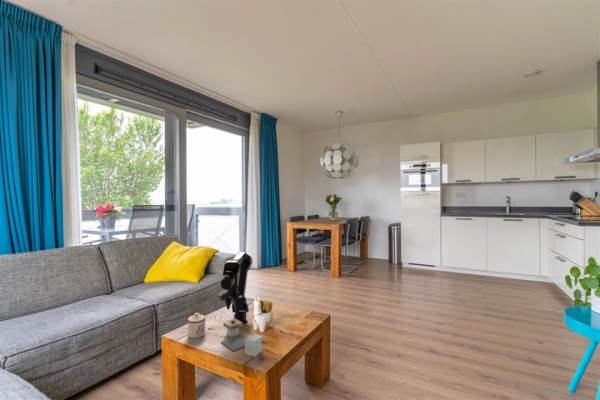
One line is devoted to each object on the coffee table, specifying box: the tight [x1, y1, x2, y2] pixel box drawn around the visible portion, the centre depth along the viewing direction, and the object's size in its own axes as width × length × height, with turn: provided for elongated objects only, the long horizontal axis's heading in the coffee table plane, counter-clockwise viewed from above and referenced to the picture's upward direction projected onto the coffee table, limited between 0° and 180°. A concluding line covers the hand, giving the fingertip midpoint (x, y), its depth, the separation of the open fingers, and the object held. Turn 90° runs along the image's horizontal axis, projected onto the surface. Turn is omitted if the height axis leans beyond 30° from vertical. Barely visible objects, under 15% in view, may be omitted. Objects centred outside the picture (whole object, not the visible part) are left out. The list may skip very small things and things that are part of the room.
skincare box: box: [244, 333, 263, 357], centre depth 141 cm, size 6×6×7 cm
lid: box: [223, 318, 244, 331], centre depth 161 cm, size 8×8×3 cm
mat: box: [220, 333, 247, 352], centre depth 150 cm, size 12×12×1 cm
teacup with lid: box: [187, 312, 206, 339], centre depth 161 cm, size 12×9×12 cm
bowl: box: [226, 327, 240, 337], centre depth 161 cm, size 6×6×4 cm
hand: (232, 311), depth 161 cm, fingers open, 9 cm apart
